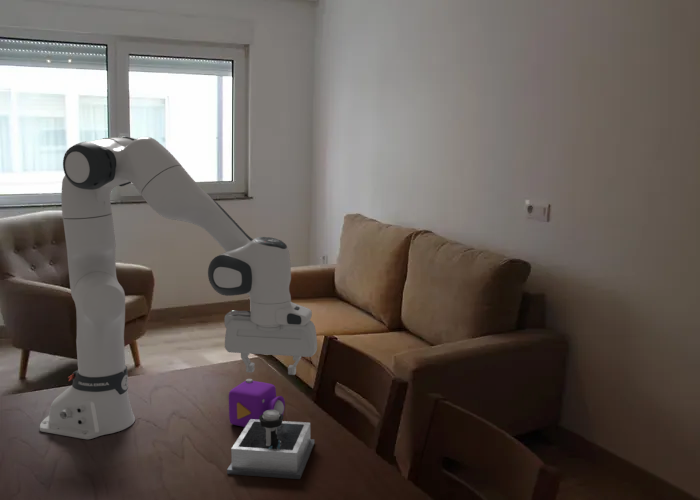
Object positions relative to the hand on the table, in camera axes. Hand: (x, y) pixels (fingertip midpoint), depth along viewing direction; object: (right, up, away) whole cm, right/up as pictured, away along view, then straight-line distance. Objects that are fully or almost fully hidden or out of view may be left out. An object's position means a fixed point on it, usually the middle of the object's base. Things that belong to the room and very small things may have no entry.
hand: (271, 372), depth 153 cm
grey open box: (0, -20, +4) cm, 20 cm away
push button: (0, -19, +4) cm, 20 cm away
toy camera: (-6, -17, +22) cm, 29 cm away
